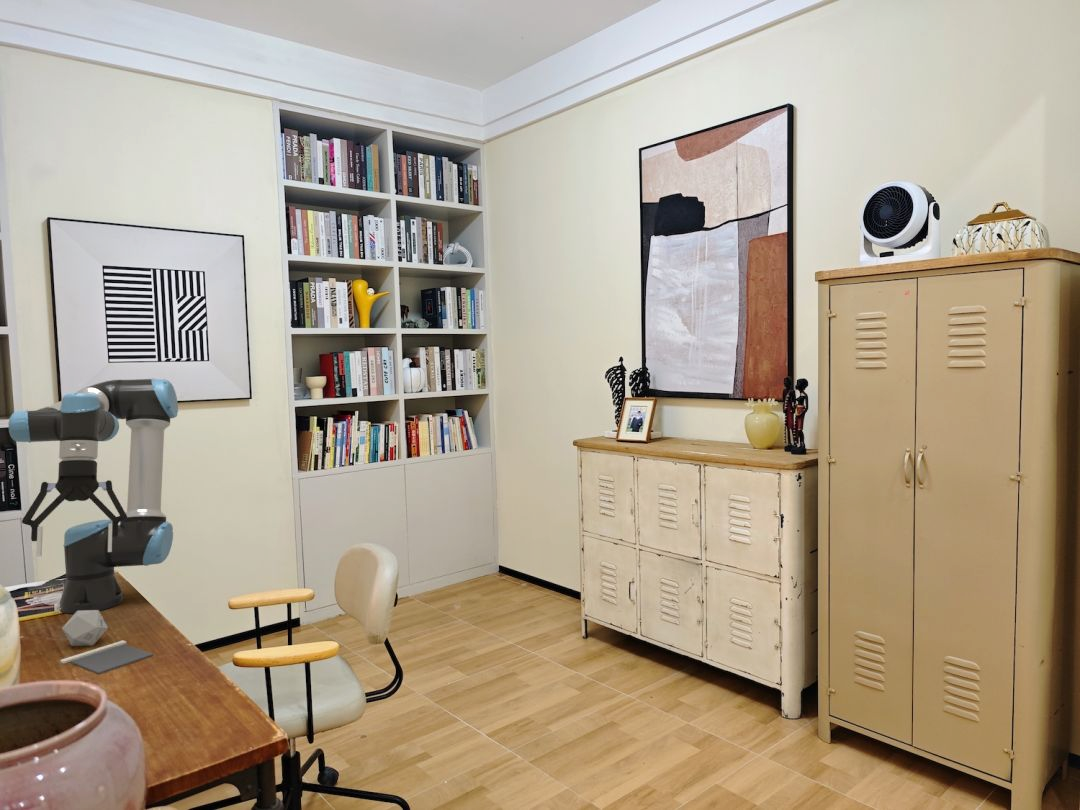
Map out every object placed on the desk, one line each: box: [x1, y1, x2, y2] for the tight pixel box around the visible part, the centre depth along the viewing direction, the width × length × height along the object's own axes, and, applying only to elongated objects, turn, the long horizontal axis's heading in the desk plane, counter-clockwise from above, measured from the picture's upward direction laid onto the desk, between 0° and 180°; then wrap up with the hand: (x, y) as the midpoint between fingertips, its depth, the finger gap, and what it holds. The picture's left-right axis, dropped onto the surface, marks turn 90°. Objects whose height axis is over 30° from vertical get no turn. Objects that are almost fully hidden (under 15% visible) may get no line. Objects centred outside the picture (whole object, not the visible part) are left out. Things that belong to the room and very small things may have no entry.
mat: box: [59, 639, 154, 675], centre depth 171 cm, size 14×15×1 cm
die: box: [61, 610, 109, 647], centre depth 180 cm, size 8×9×10 cm
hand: (75, 554), depth 169 cm, fingers open, 13 cm apart
